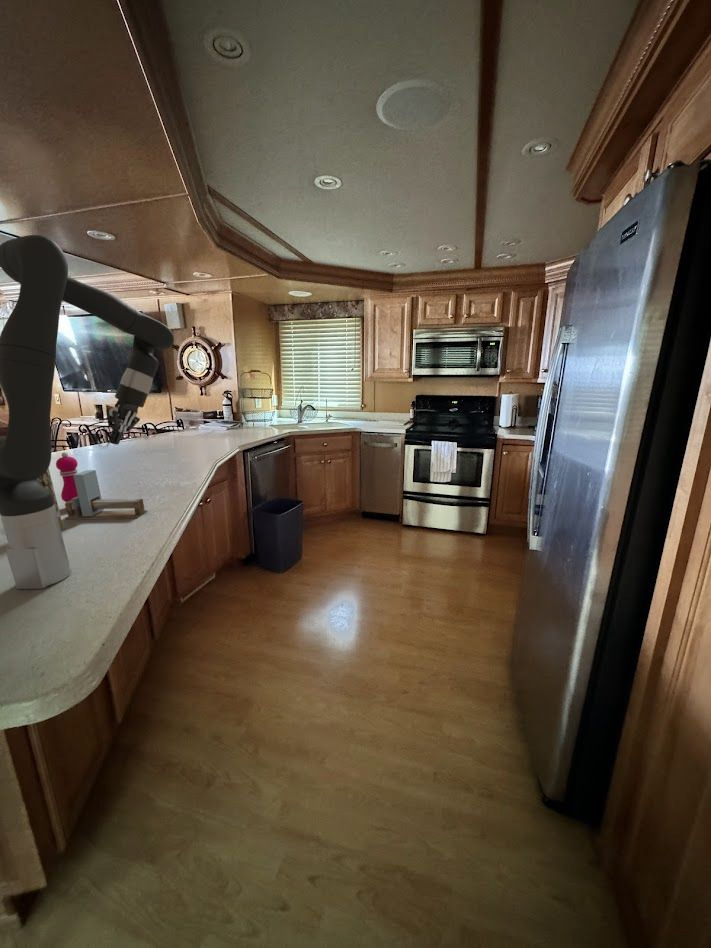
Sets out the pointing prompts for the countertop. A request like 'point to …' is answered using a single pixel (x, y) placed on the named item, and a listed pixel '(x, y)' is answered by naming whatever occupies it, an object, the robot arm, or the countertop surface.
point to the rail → (110, 513)
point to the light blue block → (87, 491)
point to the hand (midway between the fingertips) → (113, 443)
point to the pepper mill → (67, 476)
